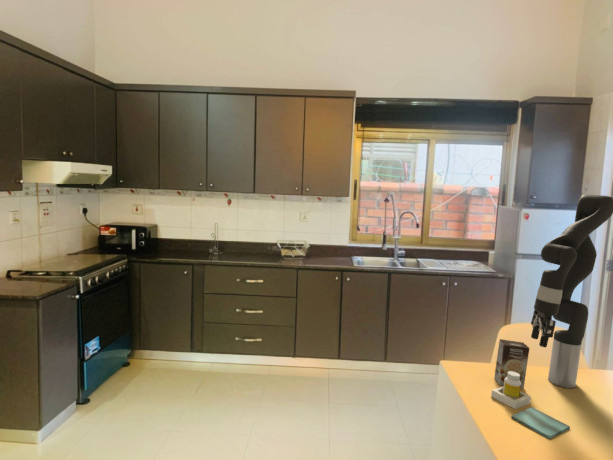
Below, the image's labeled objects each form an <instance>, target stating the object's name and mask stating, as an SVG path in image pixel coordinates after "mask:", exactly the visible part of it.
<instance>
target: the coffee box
mask: <svg viewBox="0 0 613 460" xmlns="http://www.w3.org/2000/svg"><path fill="white" fill-rule="evenodd" d="M529 355H530V347H529V346H528V345H527V344H525V343H524V342H522V341H515V340H507V339H501V338H499V341H498V348H497V354H496V362H495V370H494V379H495V381H496V382H497V384H498V385H500V386H504V379H505V378H506V377H507V373H508V372H509V371H513V372H516V373H518V374H520V379H519V380H520V382H521V389H524V388H525V382H526V374H527V367H528V360H529Z"/></svg>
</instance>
